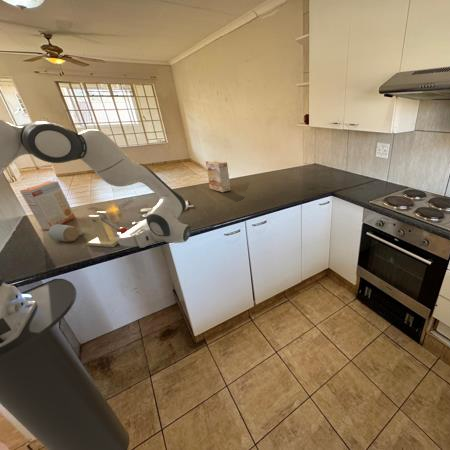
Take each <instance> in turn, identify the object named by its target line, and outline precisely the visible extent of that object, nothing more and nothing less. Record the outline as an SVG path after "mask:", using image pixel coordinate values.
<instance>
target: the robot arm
mask: <svg viewBox="0 0 450 450" xmlns="http://www.w3.org/2000/svg"><path fill="white" fill-rule="evenodd" d="M25 155H32V156H33V157H35V158H36V159H38V160H41V161H43V162H45V163H51V164H63V163H69V162H71V161H76V160H81V162H82V161H83V163H85V164H86V165H87V166H88V167H89V168H90V169H91V170H92V171H93V172H94V173H95V174H96V175H97V176H98V177H99V178H100V179H101V180H102V181H104V182H105V183H107V184H108V185H110V186H114V187H127V186H128V187H129V186H131V185H134V184H135V185H136V184H138V183H141V184H144V185H145V186H146V187H147V188H148V189H150V191H152V192H153V193H154V194H155V195H157V197H158V199H159V200H158V202H157V203H156V205H154V206H155V207H154V206H153V207H154V208H153V207H152V208H153V209H152V210H151V211H149V212H150V213H149V214H148V213H147V214H148V216H147V217H145V219H143V220H141V221H137V222H135V221H134V222H132V223H131V224H130V225H131V228H129V229H127V230H128V231H127V232H125V233H124V234H121V232H118V231H117V232H115V233H116V234H115V236H116V237H117V240H118V242H119V244H118V245H119V246H121V247H129V248H135V247H139V248H141V249H142V248H145V247H148V246H150V245H152V244H155V243H162V242H163V243H164V242H165V243H168V244H183V243H186V242H187V241H188V240H189V239H190V236H191V233H192V228H191V226H190V225H189V224H186V223H182V222H181V221H180V220H178V218H179V217H180V216H181V215H182V213H184V211H186V210H187V209H186V203H185V201H186V200H185V198H184V197H183V196H181V194H179V193H178V192H176V191H175V190H173V189H172V188H171V187H170V186H169V185H168V184H167V183H166V182H165V181H163V179H161V177H159V176H158V175H157V174H156V173H155V171H153V170H152V169H151V168H149V167H148V166H146V165H145V164H143V163H138V162H136V161H134V160H132V158H130V156H128V154H127V153H126V152H125V151H124V150H123V149H122V148H121V147H120V146H119V145H118V144H117V142H116V141H114V140H113V139H111V138H110V136H108V135H107V134H106V133H105V132H103V131H101V130H99V129H86V130H82V131H81V132H76V131H73V130H71V129H69V128H67V127H65V126H62V125H60V124H58V123H56V122H52V121H49V120H48V121H47V120H37V121H33V122H29V123H24V124H21V125H20V124H19V125H14V124H12V123H10V122H8V121H6V120H3V119H2V118H0V176H1V175H2V174H3V173H4V172H5V171H6V170H7V168H8V167H9V166H10V165H11V164H12V163H13V162H15V160H17V159H18V158H20V157H21V156H25ZM185 209H186V210H185ZM21 293H22V292H21V291H20V290H19V289H18V288H17V287H16V286H15V285H13V284H12V285H10V284H8V283H5V282H4V280H3V278H2V276H1V275H0V347H2V346H4V345H6V344H8V343H9V342H11V341H13V340H14V339H16V338H17V337H18V336H19V335H20V333H21V332H22V330H23V328H24V326H25V325H26V323H27V321H28V319H29V318H30V316H31V314H32V312H33V311H34V309H35V307H36V306H37V303H36V302H35V301H27V300H26V298H25V297H31V295H26V294H21Z"/></svg>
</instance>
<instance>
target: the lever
mask: <svg viewBox="0 0 450 450" xmlns="http://www.w3.org/2000/svg"><path fill="white" fill-rule="evenodd" d="M95 215H97V216H100V218H101V221H103V222H104V223H106V224H108V225H110V226H111V227H113V228H114V230H115V231H116V230H117V233H118V232H121V234H124V233H125V232H127V231H128V230H129V229H128V228H127V227H124V226H122V227H120V226H118V225H116V224H115V223H114V222H112V221H111V222H110V221H108V220H106V219H104V218H105V216H104V215H102V214H100V213H98V214H97V213H96V214H95Z"/></svg>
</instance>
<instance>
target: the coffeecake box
mask: <svg viewBox="0 0 450 450" xmlns="http://www.w3.org/2000/svg"><path fill="white" fill-rule="evenodd" d="M205 166H206V172H207V178H208V185H209V190H213V191H216V192H221V193H225V192H229V191H231V183H230V182H231V181H230V174H229V166H228V162H227V161H222V160H216V159H211V160H206V161H205Z"/></svg>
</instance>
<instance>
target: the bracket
mask: <svg viewBox="0 0 450 450" xmlns="http://www.w3.org/2000/svg"><path fill="white" fill-rule="evenodd" d="M98 213H100V214H102V215H104V216H105V218H104V219H106V220H108V221H110V222H111V223H112V220H111V218H110V215H109V213H108V212H107V211H99V210H98V211H96V214H98ZM96 214H90V215H88V219H89V222H90V223H91V225H92V227H93V230H94V232H95V234H96V237H94V238H93V239H91V240H90V241H88V242H87V244H88V246H92V247H105V248H106V247H107V248H114V247H116V246H117V245H120V244H119V242H118V240H117V237H116V236H115V234H116V233H117V232H116V229H115V228H113V227H111V226H110V225H108V224H106V223H104V222H103V221H101V218H100V216H97V215H96Z"/></svg>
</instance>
